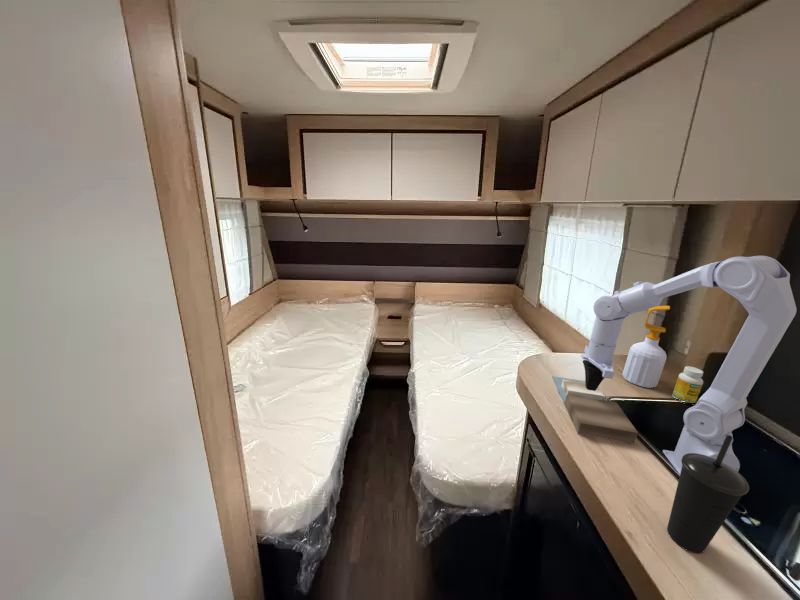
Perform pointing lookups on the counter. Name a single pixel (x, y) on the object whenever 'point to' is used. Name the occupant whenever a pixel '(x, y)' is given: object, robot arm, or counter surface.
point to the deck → (600, 419)
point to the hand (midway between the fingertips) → (590, 388)
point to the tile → (580, 390)
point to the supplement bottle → (688, 384)
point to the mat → (558, 384)
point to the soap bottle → (646, 357)
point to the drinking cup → (704, 498)
